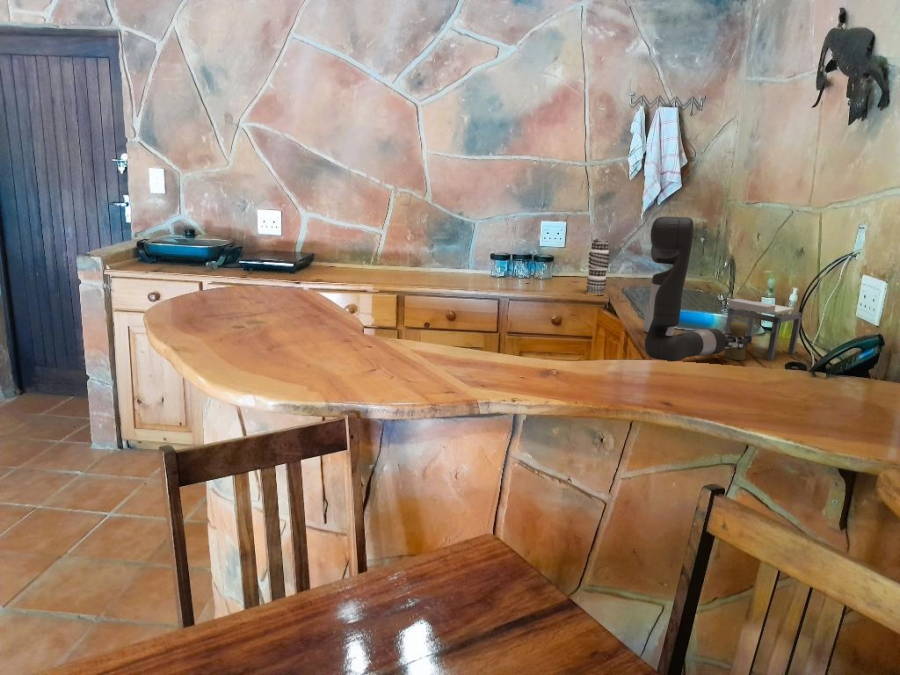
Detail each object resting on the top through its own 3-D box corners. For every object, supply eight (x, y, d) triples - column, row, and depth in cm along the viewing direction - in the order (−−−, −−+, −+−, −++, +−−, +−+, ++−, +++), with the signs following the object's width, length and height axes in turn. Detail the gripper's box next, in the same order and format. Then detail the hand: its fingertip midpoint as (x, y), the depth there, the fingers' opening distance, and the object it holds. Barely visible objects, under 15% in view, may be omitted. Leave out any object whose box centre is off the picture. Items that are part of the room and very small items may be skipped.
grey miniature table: (722, 348, 207) (728, 308, 204) (747, 342, 217) (753, 304, 213) (771, 360, 195) (778, 318, 192) (795, 353, 205) (802, 313, 202)
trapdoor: (727, 309, 200) (728, 299, 199) (756, 304, 211) (757, 295, 210) (765, 317, 191) (767, 307, 190) (793, 311, 202) (795, 301, 201)
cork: (728, 353, 201) (733, 319, 198) (748, 358, 197) (753, 322, 194) (720, 357, 197) (725, 321, 194) (740, 361, 193) (745, 325, 190)
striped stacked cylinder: (584, 295, 292) (589, 239, 286) (586, 292, 300) (591, 237, 294) (604, 297, 289) (610, 240, 283) (606, 293, 298) (611, 239, 292)
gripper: (726, 335, 182) (766, 330, 190) (687, 324, 194) (726, 320, 202) (723, 361, 183) (762, 355, 191) (684, 348, 195) (723, 343, 204)
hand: (743, 337), depth 197 cm, fingers closed on cork, 3 cm apart
